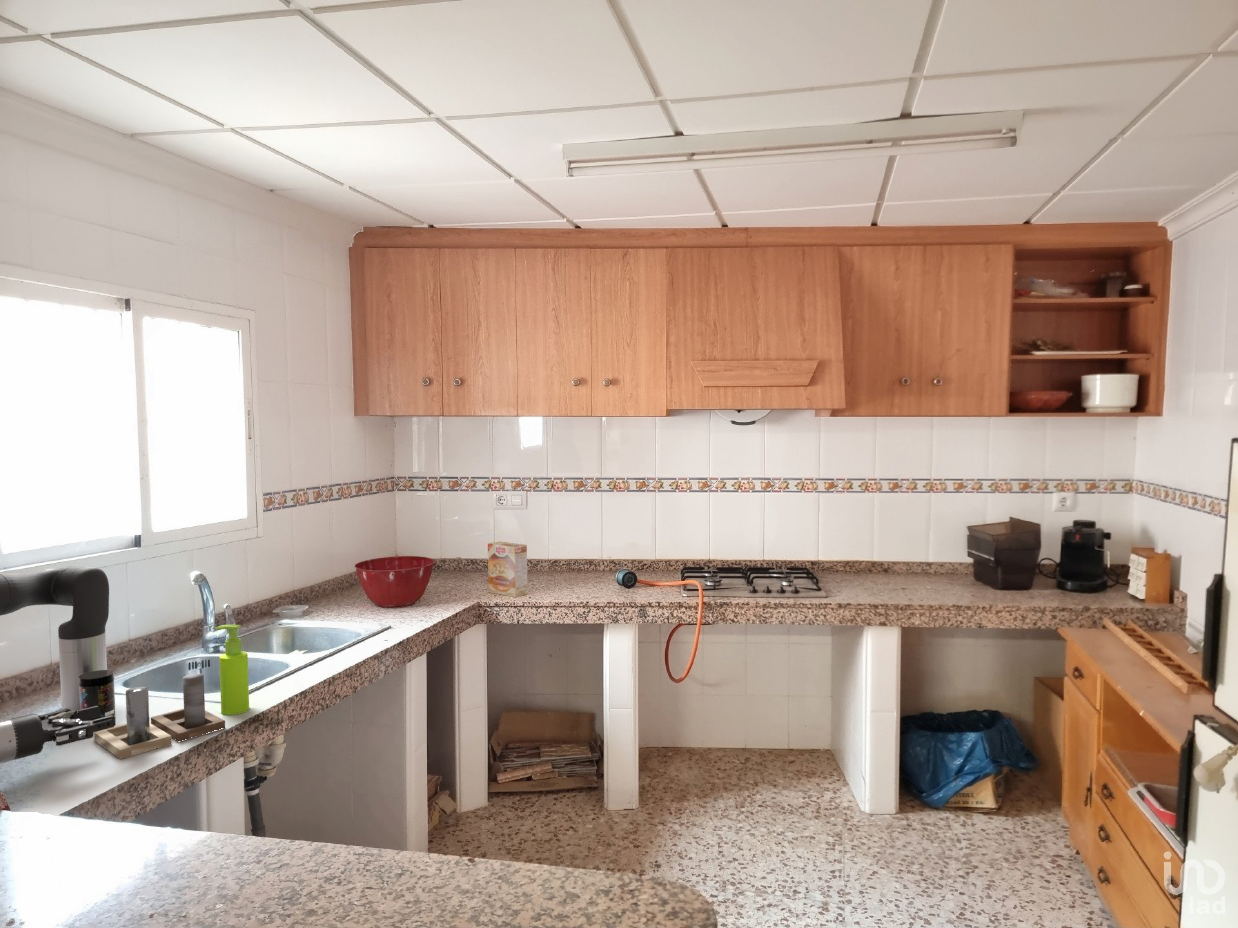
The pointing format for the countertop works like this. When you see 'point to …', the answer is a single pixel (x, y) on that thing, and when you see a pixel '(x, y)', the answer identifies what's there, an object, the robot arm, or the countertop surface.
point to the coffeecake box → (507, 568)
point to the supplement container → (98, 692)
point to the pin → (137, 715)
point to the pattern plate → (189, 713)
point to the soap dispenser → (233, 675)
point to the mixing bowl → (395, 579)
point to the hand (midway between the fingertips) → (107, 715)
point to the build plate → (121, 745)
